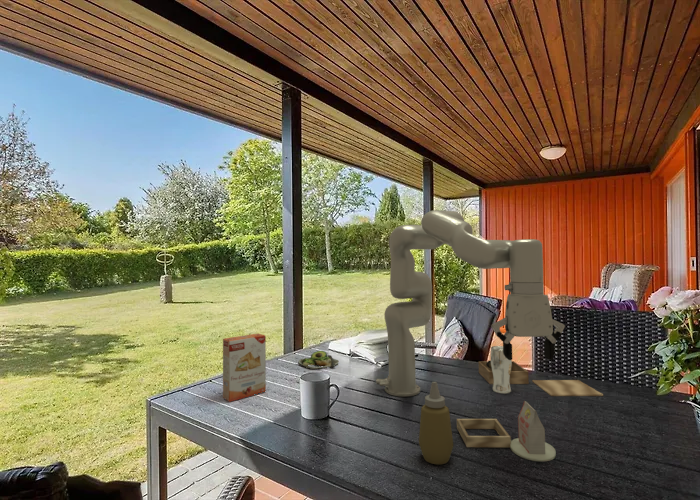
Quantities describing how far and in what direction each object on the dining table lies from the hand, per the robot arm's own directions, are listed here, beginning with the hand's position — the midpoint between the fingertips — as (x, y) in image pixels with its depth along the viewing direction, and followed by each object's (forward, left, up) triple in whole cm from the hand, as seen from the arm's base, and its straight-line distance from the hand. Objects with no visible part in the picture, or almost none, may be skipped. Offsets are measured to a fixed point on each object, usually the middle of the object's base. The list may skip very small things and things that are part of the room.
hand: (528, 358), depth 94 cm
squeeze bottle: (-24, -4, -23) cm, 33 cm away
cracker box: (-84, +38, -23) cm, 95 cm away
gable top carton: (0, 0, -22) cm, 22 cm away
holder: (-10, +7, -22) cm, 25 cm away
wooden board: (+30, +44, -22) cm, 58 cm away
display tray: (+12, +56, -22) cm, 61 cm away
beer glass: (+7, +42, -23) cm, 48 cm away
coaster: (0, 0, -22) cm, 22 cm away
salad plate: (-63, +78, -23) cm, 102 cm away
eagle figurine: (+10, +55, -23) cm, 61 cm away
